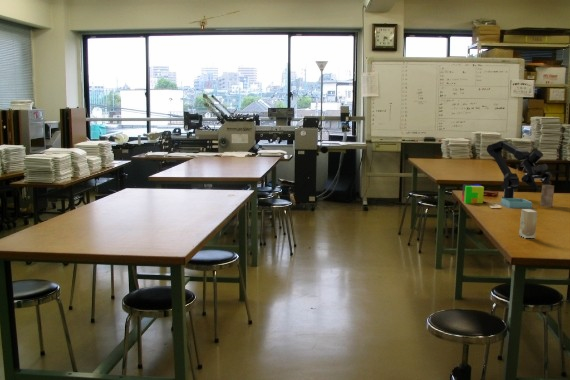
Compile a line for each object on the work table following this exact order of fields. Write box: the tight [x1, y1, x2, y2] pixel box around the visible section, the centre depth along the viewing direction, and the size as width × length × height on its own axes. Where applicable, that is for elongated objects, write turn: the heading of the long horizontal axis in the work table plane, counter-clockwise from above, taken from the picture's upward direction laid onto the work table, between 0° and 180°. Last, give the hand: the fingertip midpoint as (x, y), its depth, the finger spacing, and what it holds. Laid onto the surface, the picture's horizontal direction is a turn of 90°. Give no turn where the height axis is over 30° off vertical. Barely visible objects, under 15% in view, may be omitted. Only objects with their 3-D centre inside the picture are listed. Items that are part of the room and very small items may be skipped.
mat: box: [496, 202, 537, 210], centre depth 324 cm, size 18×16×1 cm
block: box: [539, 184, 555, 208], centre depth 324 cm, size 4×4×12 cm
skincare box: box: [518, 209, 538, 239], centre depth 245 cm, size 6×4×12 cm
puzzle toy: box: [461, 183, 485, 205], centre depth 336 cm, size 10×10×10 cm
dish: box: [500, 197, 533, 208], centre depth 324 cm, size 13×13×3 cm
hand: (543, 188), depth 326 cm, fingers open, 9 cm apart
